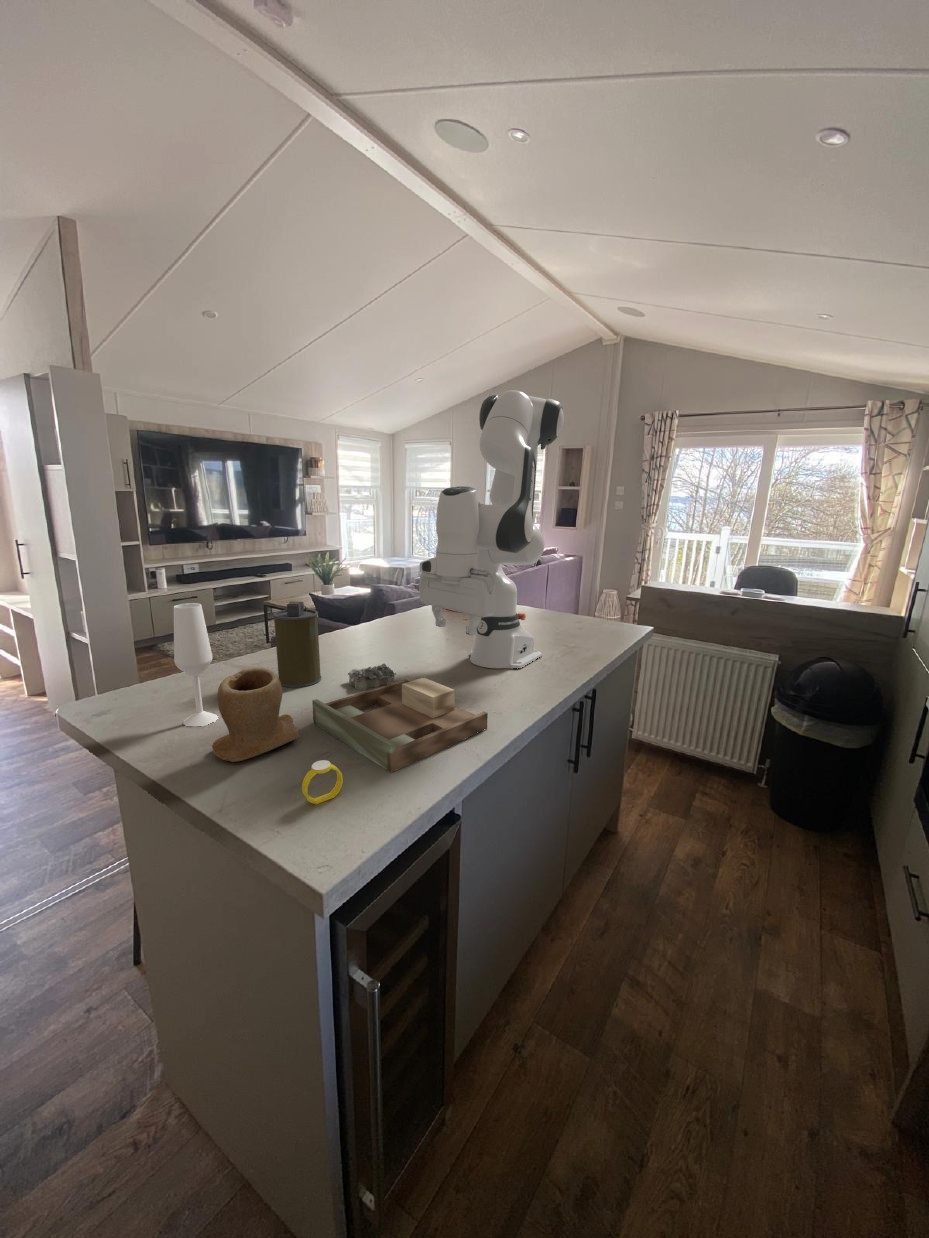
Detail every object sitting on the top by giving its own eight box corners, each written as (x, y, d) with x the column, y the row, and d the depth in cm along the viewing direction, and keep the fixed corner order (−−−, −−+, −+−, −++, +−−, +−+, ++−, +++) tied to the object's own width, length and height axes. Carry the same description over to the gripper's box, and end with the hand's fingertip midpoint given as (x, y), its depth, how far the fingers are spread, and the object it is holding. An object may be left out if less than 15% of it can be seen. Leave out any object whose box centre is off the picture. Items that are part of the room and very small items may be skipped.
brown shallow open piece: (406, 693, 118) (406, 673, 117) (487, 729, 100) (487, 705, 99) (313, 723, 101) (312, 700, 100) (391, 772, 84) (390, 745, 82)
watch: (309, 812, 73) (304, 776, 72) (302, 803, 75) (296, 768, 74) (346, 795, 77) (342, 761, 75) (338, 787, 79) (334, 754, 77)
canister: (314, 688, 120) (309, 607, 115) (271, 687, 120) (264, 606, 116) (327, 673, 131) (323, 598, 126) (287, 672, 131) (282, 597, 126)
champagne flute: (223, 721, 102) (211, 606, 96) (186, 730, 97) (171, 610, 92) (213, 710, 107) (201, 600, 101) (178, 719, 102) (164, 604, 97)
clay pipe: (233, 776, 82) (225, 691, 78) (205, 751, 90) (196, 672, 86) (316, 745, 93) (311, 668, 89) (284, 725, 100) (279, 654, 97)
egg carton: (356, 693, 119) (355, 676, 118) (346, 683, 125) (345, 667, 124) (397, 684, 124) (397, 669, 123) (385, 675, 130) (385, 660, 129)
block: (423, 696, 111) (423, 677, 110) (454, 709, 104) (454, 689, 103) (402, 703, 107) (401, 684, 106) (432, 718, 100) (433, 697, 99)
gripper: (504, 570, 99) (501, 637, 102) (435, 561, 113) (435, 620, 116) (482, 572, 95) (480, 642, 98) (414, 562, 109) (414, 624, 112)
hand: (455, 630), depth 107 cm, fingers open, 8 cm apart
